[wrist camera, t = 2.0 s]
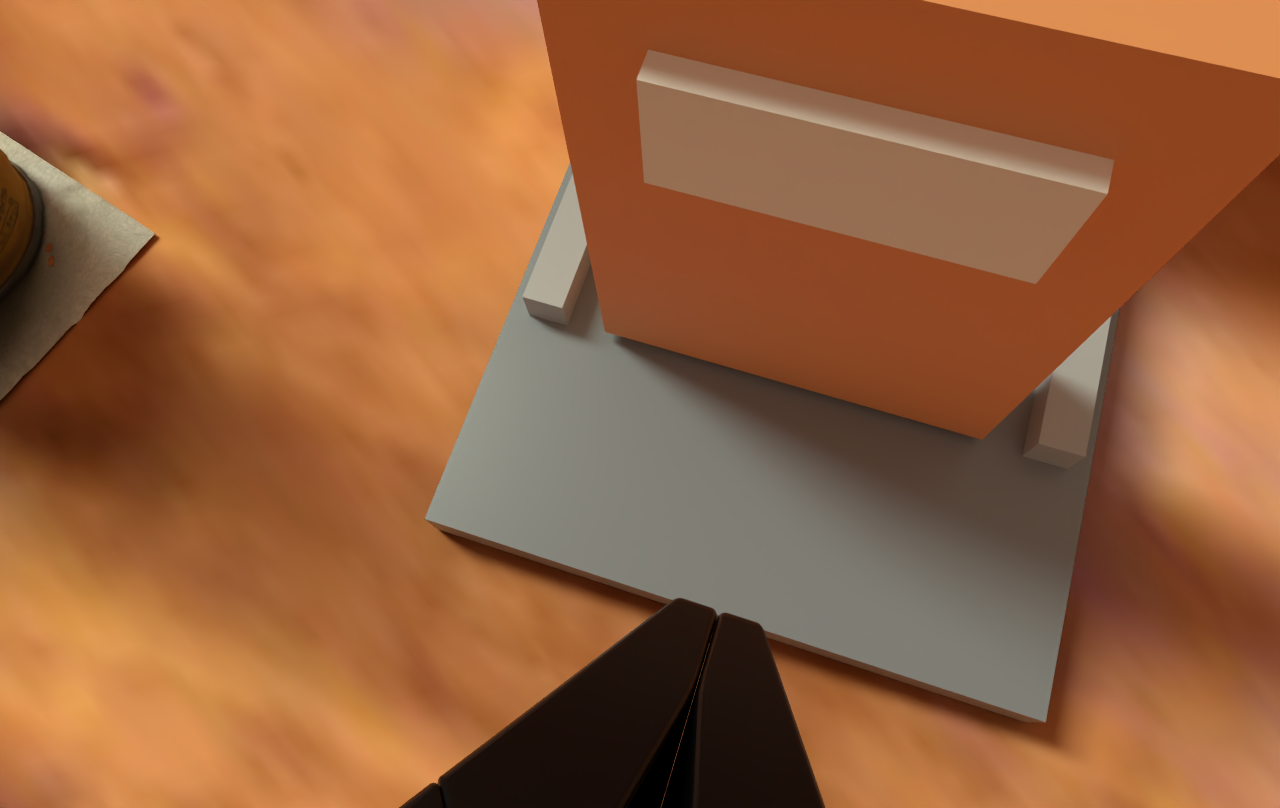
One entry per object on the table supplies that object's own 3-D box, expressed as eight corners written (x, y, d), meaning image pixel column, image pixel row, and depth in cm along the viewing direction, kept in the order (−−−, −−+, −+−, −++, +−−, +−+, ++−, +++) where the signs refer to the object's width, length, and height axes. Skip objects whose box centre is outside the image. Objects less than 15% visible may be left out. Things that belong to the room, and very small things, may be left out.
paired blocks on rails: (1025, 722, 20) (1378, 721, 10) (438, 529, 22) (225, 361, 12) (1156, 14, 26) (1460, -443, 16) (685, -86, 28) (686, -549, 18)
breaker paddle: (977, 459, 20) (1340, 132, 9) (597, 350, 22) (503, -56, 10) (999, 360, 21) (1359, -55, 10) (631, 260, 22) (576, -209, 11)
